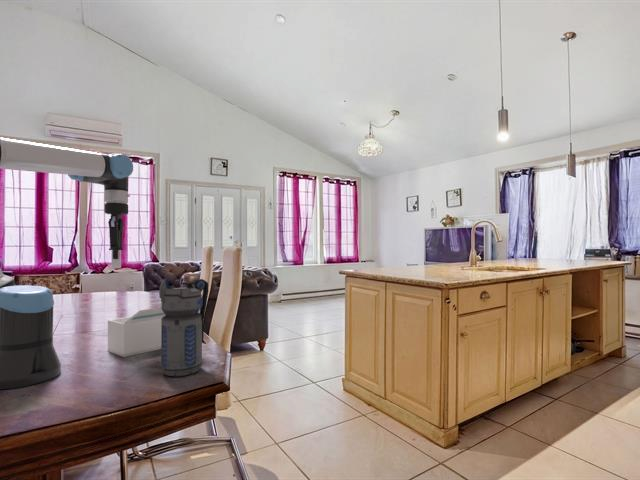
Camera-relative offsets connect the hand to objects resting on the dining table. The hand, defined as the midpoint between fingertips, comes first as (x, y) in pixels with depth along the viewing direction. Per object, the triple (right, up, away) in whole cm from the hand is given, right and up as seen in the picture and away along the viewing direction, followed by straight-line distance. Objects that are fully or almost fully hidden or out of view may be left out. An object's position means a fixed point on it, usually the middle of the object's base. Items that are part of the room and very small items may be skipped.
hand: (116, 268), depth 129 cm
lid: (+23, -12, -17) cm, 32 cm away
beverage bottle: (+37, -25, -33) cm, 56 cm away
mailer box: (+14, -26, -10) cm, 31 cm away
